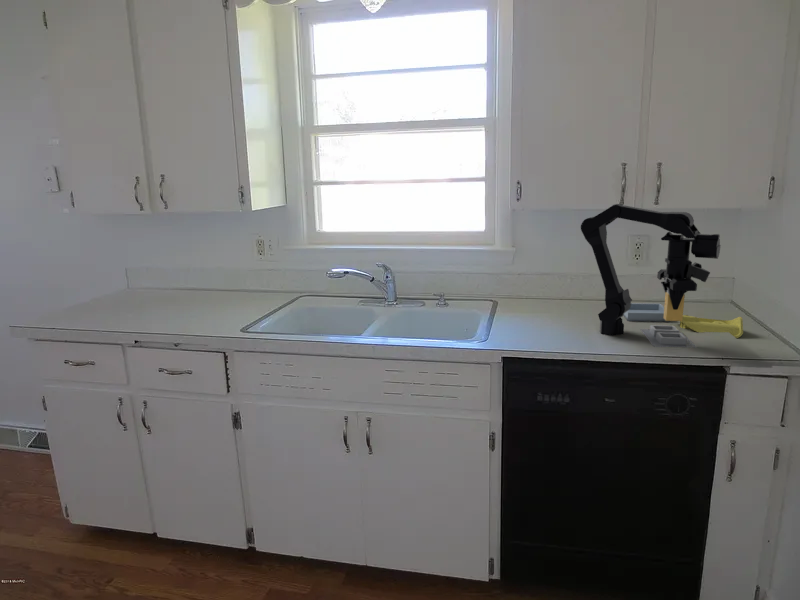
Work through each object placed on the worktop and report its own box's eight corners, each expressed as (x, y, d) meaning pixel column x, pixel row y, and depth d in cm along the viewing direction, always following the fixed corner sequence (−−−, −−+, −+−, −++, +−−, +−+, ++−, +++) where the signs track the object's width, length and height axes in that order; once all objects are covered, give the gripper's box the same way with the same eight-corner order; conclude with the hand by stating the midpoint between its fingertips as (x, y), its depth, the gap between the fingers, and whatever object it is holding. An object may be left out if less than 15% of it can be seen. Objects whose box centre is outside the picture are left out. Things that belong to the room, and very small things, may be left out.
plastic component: (731, 321, 186) (743, 315, 177) (730, 343, 185) (743, 338, 175) (667, 315, 190) (676, 309, 181) (666, 336, 189) (675, 332, 179)
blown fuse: (682, 321, 167) (684, 291, 164) (666, 320, 167) (668, 291, 165) (679, 318, 169) (681, 289, 167) (663, 318, 170) (665, 289, 168)
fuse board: (653, 351, 167) (654, 339, 166) (639, 333, 184) (640, 323, 183) (697, 352, 164) (698, 341, 164) (679, 334, 182) (680, 323, 181)
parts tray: (627, 320, 198) (628, 312, 198) (620, 310, 212) (620, 303, 211) (670, 321, 196) (670, 313, 195) (659, 311, 209) (660, 303, 208)
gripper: (719, 261, 153) (713, 316, 157) (697, 251, 171) (693, 301, 175) (675, 261, 156) (671, 316, 159) (658, 251, 173) (654, 300, 177)
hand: (673, 308), depth 168 cm, fingers closed on blown fuse, 3 cm apart
